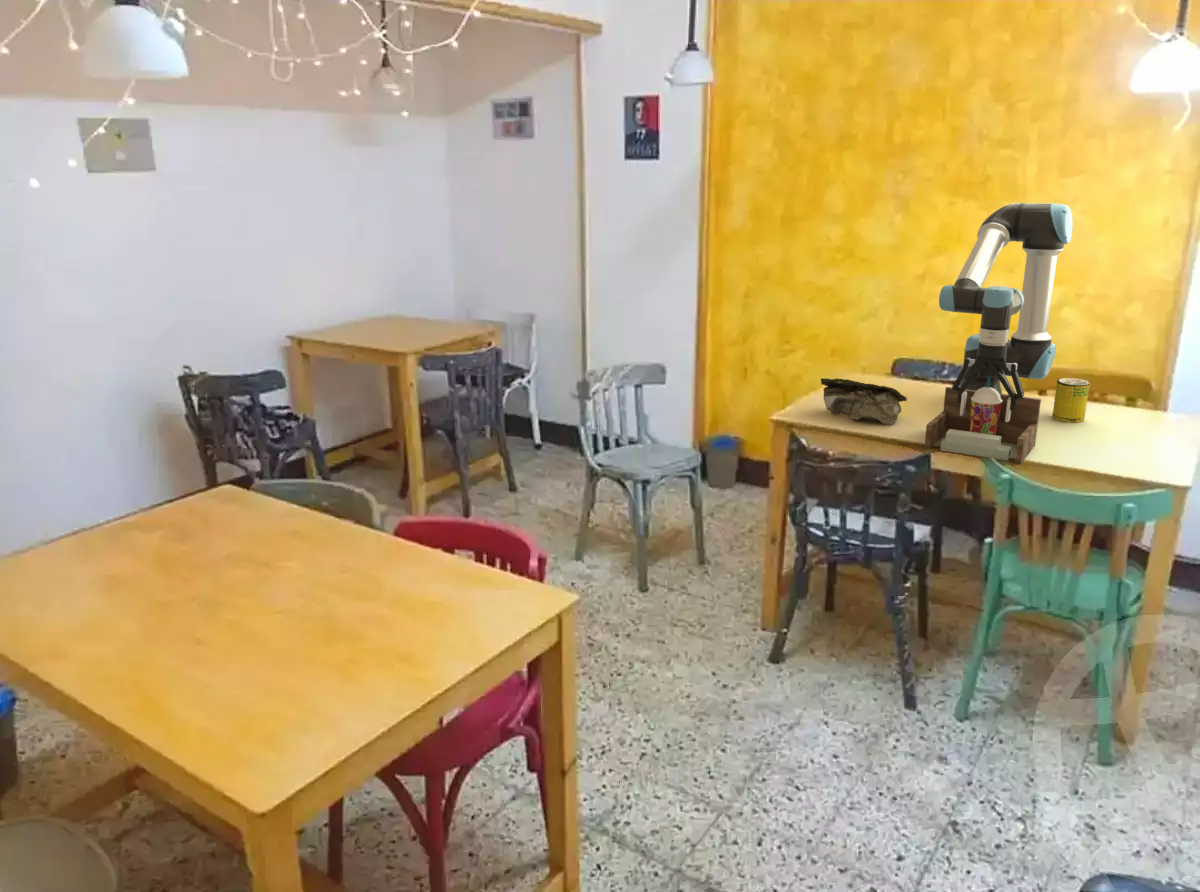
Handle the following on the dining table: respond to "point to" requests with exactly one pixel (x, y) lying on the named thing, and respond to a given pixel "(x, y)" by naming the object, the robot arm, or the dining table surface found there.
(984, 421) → the smoothie
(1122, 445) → the dining table surface
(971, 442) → the offcut stack
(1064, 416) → the beverage can
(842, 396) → the hollow geode rock
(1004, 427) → the walnut rack
